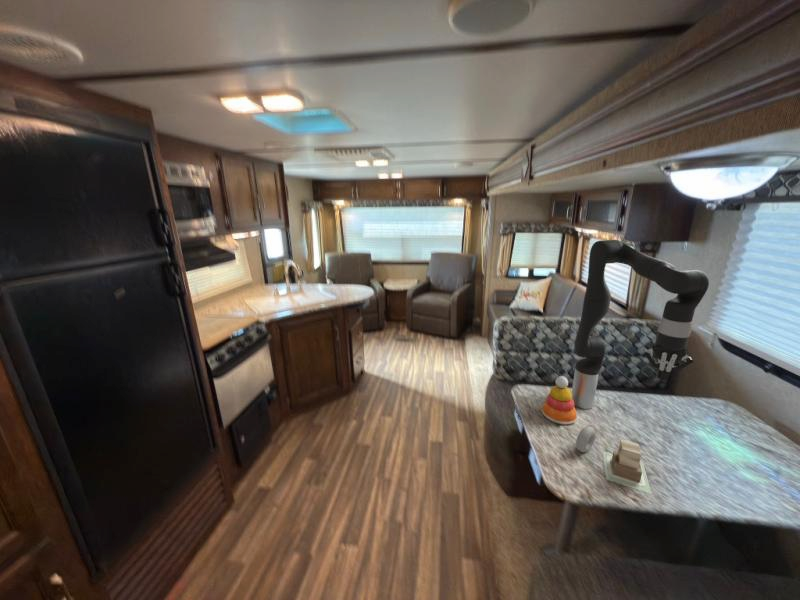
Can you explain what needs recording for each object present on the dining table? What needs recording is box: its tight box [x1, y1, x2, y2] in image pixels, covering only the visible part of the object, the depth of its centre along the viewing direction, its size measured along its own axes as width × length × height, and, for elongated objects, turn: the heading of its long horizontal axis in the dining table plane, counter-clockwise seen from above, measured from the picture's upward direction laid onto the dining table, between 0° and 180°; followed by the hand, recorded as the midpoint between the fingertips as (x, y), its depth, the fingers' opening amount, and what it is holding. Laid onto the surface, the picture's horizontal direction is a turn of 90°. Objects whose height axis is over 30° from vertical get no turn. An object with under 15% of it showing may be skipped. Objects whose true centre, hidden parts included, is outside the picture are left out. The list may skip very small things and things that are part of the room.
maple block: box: [617, 439, 642, 469], centre depth 101 cm, size 5×5×6 cm
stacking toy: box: [540, 375, 579, 425], centre depth 130 cm, size 14×14×20 cm
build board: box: [602, 450, 653, 495], centre depth 103 cm, size 14×12×1 cm
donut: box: [575, 426, 597, 453], centre depth 112 cm, size 10×4×10 cm, turn 123°
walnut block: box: [612, 450, 642, 482], centre depth 103 cm, size 7×7×4 cm
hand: (661, 379), depth 102 cm, fingers closed
